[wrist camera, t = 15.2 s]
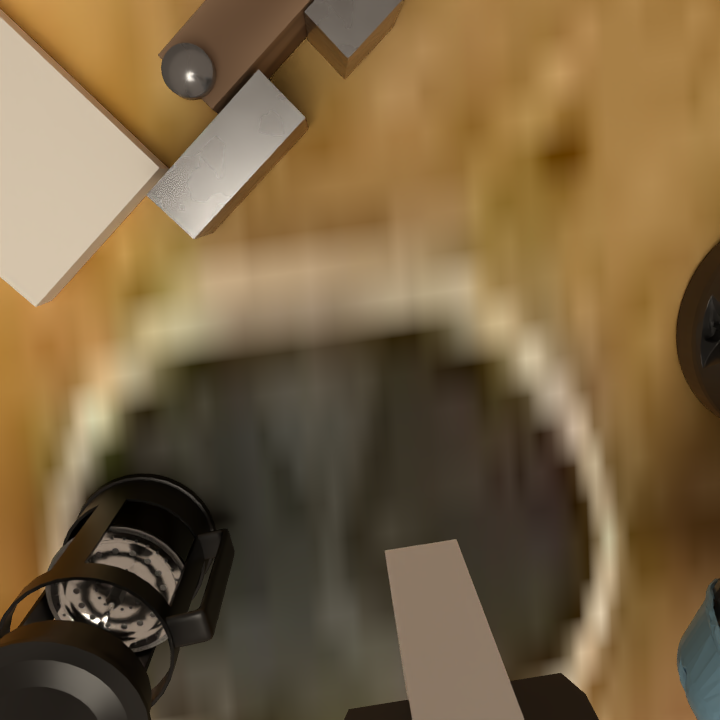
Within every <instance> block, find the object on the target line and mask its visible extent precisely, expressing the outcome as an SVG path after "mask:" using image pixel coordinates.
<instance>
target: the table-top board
mask: <svg viewBox="0 0 720 720" xmlns="http://www.w3.org/2000/svg"><path fill="white" fill-rule="evenodd" d="M168 170H169V169H168V168H167V167H166V166H165V165H164V164H163V163H162V162H161V161H160V160H159V159H158V158H157V157H156V156H155V155H154V154H153V153H152V152H151V151H149V150H148V149H147V148H146V147H145V146H144V145H143V144H142V143H141V142H140V141H139V140H138V139H137V138H136V137H135V136H134V135H133V134H132V133H131V132H130V131H128V130H127V129H126V128H125V127H124V126H123V125H122V124H121V123H120V122H119V121H118V120H117V119H116V118H115V117H114V116H113V115H112V114H111V113H110V112H108V111H107V110H106V109H105V108H104V107H103V106H102V105H101V104H100V103H99V102H98V101H97V100H96V99H95V98H94V97H93V96H92V95H91V94H90V93H88V92H87V91H86V90H85V89H84V88H83V87H82V86H81V85H80V84H79V83H78V82H77V81H76V80H75V79H74V78H73V77H72V76H71V75H70V74H69V73H67V72H66V71H65V70H64V69H63V68H62V67H61V66H60V65H59V64H58V63H57V62H56V61H55V60H54V59H53V58H52V57H51V56H50V55H49V54H47V53H46V52H45V51H44V50H43V49H42V48H41V47H40V46H39V45H38V44H37V43H36V42H35V41H34V40H33V39H32V38H31V37H30V36H29V35H27V34H26V33H25V32H24V31H23V30H22V29H21V28H20V27H19V26H18V25H17V24H16V23H15V22H14V21H13V20H12V19H11V18H10V17H9V16H8V15H6V14H5V13H4V12H3V11H2V10H1V9H0V277H1V278H2V279H3V280H4V281H6V282H7V283H8V284H9V285H10V286H12V287H13V288H14V289H15V290H16V291H17V292H19V293H20V294H21V295H22V296H23V297H24V298H26V299H27V300H28V301H29V302H30V303H32V304H33V305H34V306H35V307H37V306H39V305H42V304H44V303H47V302H50V301H52V300H53V299H54V298H55V297H56V296H57V295H58V293H59V292H60V291H61V290H62V289H63V288H64V287H65V286H66V284H67V283H68V282H69V281H70V280H71V279H72V278H73V277H74V276H75V274H76V273H77V272H78V271H79V270H80V269H81V268H82V267H83V265H84V264H85V263H86V262H87V261H88V260H89V259H90V258H91V257H92V255H93V254H94V253H95V252H96V251H97V250H98V249H99V248H100V246H101V245H102V244H103V243H104V242H105V241H106V240H107V239H108V238H109V236H110V235H111V234H112V233H113V232H114V231H115V230H116V229H117V227H118V226H119V225H120V224H121V223H122V222H123V221H124V220H125V219H126V217H127V216H128V215H129V214H130V213H131V212H132V211H133V210H134V209H135V207H136V206H137V205H138V204H139V203H140V202H141V201H142V200H143V198H144V197H145V196H146V195H147V193H148V192H149V191H150V190H151V189H152V188H153V187H154V186H155V185H156V183H157V182H158V181H159V180H160V179H161V178H162V177H163V176H164V174H165V173H166V172H167V171H168Z"/></svg>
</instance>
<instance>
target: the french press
mask: <svg viewBox="0 0 720 720" xmlns="http://www.w3.org/2000/svg"><path fill="white" fill-rule="evenodd" d="M127 501H130V502H142V503H147V504H151V505H155V506H157V507H159V508H162V509H164V510H166V511H168V512H169V513H171V514H172V515H174V516H175V517H177V518H178V519H179V520H180V521H181V522H182V523H184V524H185V525H186V526H187V527H188V529H189V530H190V532H191V533H192V535H193V536H194V541H193V543H192V546H191V549H190V551H189V554H188V556H187V559H186V562H185V563H184V562H183V560H182V558H181V557H180V556H179V554H178V553H177V552H176V551H175V550H174V549H173V548H172V547H171V546H170V545H169V544H168V543H167V542H165V541H164V540H162V539H161V538H159V537H158V536H156V535H155V534H153V533H150V532H148V531H145V530H143V529H140V528H136V527H133V526H128V525H119V524H112V523H113V522H114V520H115V519H116V517H117V516H118V514H119V513H120V511H121V509H122V508H123V506H124V505H125V503H126V502H127ZM213 558H215V560H214V563H213V567H212V570H211V573H210V576H209V580H208V583H207V586H206V589H205V593H204V596H203V599H202V602H201V606H200V607H199V609H197V610H195V611H190V612H188V609H189V606H190V603H191V601H192V599H193V598H194V597H195V596H196V594H197V592H198V590H199V588H200V586H201V584H202V581H203V578H204V575H205V574H206V573H207V571H208V569H209V567H210V565H211V563H212V560H213ZM233 558H234V548H233V545H232V541H231V538H230V534H229V531H228V529H220V530H215V526H214V522H213V520H212V518H211V515H210V513H209V511H208V509H207V508H206V506H205V505H204V503H203V502H202V500H200V499H199V498H198V497H197V496H196V495H195V494H194V493H193V492H192V491H191V490H190V489H188V488H187V487H185V486H184V485H182V484H180V483H178V482H176V481H174V480H171V479H169V478H165V477H161V476H157V475H148V474H137V475H129V476H125V477H122V478H118V479H115V480H113V481H111V482H109V483H107V484H105V485H104V486H102V487H100V488H99V489H98V490H97V491H96V492H95V493H93V494H92V495H91V496H90V498H89V499H88V500H87V502H86V503H85V504H84V506H83V507H82V509H81V511H80V513H79V516H78V518H77V520H76V522H75V523H74V524H73V525H72V527H71V528H70V529H69V531H68V533H67V536H66V538H65V540H64V543H63V547H62V548H61V549H60V550H59V551H58V553H57V554H56V555H55V556H54V558H53V560H52V562H51V564H50V566H49V568H48V572H46V573H44V574H42V575H41V576H39V577H37V578H36V579H34V580H33V581H32V582H31V583H30V584H28V585H27V586H26V587H25V588H24V589H23V590H22V592H21V593H20V594H19V596H18V597H17V598H16V599H15V601H14V602H13V603H12V605H11V606H10V607H9V609H8V610H7V611H6V612H5V614H4V615H3V617H2V619H1V621H0V720H151V717H150V709H151V707H152V706H153V705H154V704H155V703H156V702H157V701H158V700H159V698H160V697H161V696H162V695H163V694H164V692H165V690H166V688H167V686H168V684H169V682H170V680H171V677H172V674H173V671H174V668H175V664H176V661H177V657H178V653H179V649H180V647H183V646H187V645H192V644H196V643H201V642H205V641H208V640H210V639H212V637H213V635H214V632H215V628H216V624H217V620H218V616H219V612H220V609H221V605H222V601H223V597H224V593H225V589H226V585H227V581H228V577H229V573H230V570H231V566H232V562H233ZM45 586H46V589H45V590H44V591H43V593H42V594H41V596H40V597H39V598H38V600H37V601H36V603H35V604H34V605H33V607H32V608H31V610H30V611H29V612H28V614H27V615H26V617H25V618H24V619H23V621H22V622H21V624H20V625H19V626H18V628H17V629H15V630H13V631H11V632H10V625H11V620H12V615H13V612H14V610H15V608H16V606H17V604H18V603H19V602H20V601H21V600H23V599H24V598H25V597H26V596H27V595H29V594H31V593H33V592H34V591H36V590H38V589H40V588H42V587H45ZM54 618H55V619H56V620H53V619H54ZM167 638H168V641H169V646H170V651H171V664H170V668H169V670H168V672H167V674H166V675H165V677H164V678H163V679H162V680H161V681H160V683H159V684H158V685H157V686H156V687H154V688H153V689H152V690H151V686H150V682H149V677H148V675H147V673H146V672H147V669H148V666H149V664H150V661H151V658H152V656H153V653H154V650H155V648H156V645H158V644H160V643H162V642H164V641H165V640H166V639H167Z"/></svg>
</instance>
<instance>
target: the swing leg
mask: <svg viewBox="0 0 720 720" xmlns="http://www.w3.org/2000/svg"><path fill="white" fill-rule="evenodd" d="M313 1H314V0H205V2H204V3H203V4H202V5H201V6H200V7H199V8H198V10H197V11H196V12H195V13H194V14H193V15H192V16H191V18H190V19H189V20H188V21H187V22H186V23H185V25H184V26H183V27H182V28H181V29H180V30H179V31H178V33H177V34H176V35H175V36H174V37H173V38H172V39H171V41H170V42H169V43H168V44H167V45H166V46H165V47H164V49H163V50H162V51H161V52H160V53H159V54H158V56H159V57H160V58H161V59H162V60H163V57H164V55H165V53H166V52H167V51H168V50H169V49H170V48H171V47H172V46H174V45H176V44H179V43H191V44H194V45H196V46H198V47H200V48H201V49H202V50H203V51H204V52H205V53H206V54H207V55H208V56H209V57H210V59H211V60H212V62H213V64H214V67H215V71H216V80H215V84H214V87H213V89H212V90H211V91H210V93H209V94H208V95H206V96H205V97H203V98H201V99H202V100H203V101H204V102H205V103H206V104H207V105H208V106H209V107H210V108H211V109H213V110H214V111H215V112H216V113H218V114H219V113H220V112H221V111H222V110H223V109H224V107H225V106H226V105H227V104H228V103H229V102H230V101H231V100H232V99H233V97H234V96H235V95H236V94H237V93H238V92H239V91H240V90H241V88H242V87H243V86H244V85H245V84H246V83H247V82H248V81H249V80H250V78H251V77H252V76H253V75H254V74H255V73H256V72H257V71H258V69H259V70H260V71H261V72H262V73H263V74H264V75H265V76H266V78H267V79H269V78H270V77H271V75H272V74H273V73H274V72H275V71H276V70H277V69H278V68H279V67H280V66H281V64H282V63H283V62H284V61H285V60H286V59H287V58H288V57H289V56H290V55H291V53H292V52H293V51H294V50H295V49H296V48H297V47H298V46H299V45H300V44H301V42H302V41H303V40H304V39H305V38H306V37H307V30H306V22H305V14H304V12H305V10H306V9H307V8H308V7H309V6H310V5H311V4H312V3H313Z"/></svg>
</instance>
